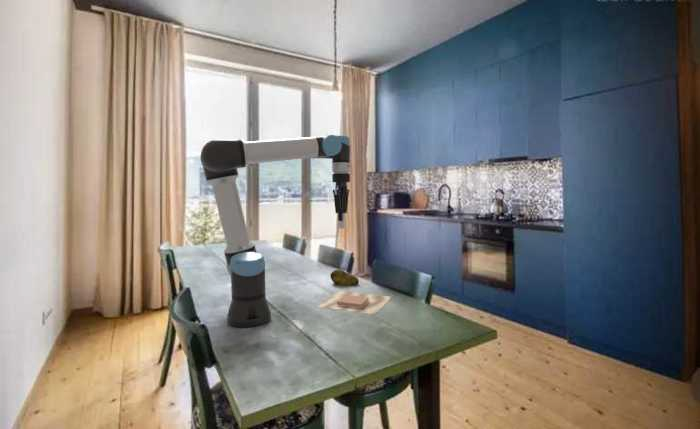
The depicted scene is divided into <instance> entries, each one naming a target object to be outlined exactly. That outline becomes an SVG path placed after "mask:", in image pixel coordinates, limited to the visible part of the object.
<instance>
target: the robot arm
mask: <svg viewBox="0 0 700 429" xmlns="http://www.w3.org/2000/svg"><path fill="white" fill-rule="evenodd" d="M350 157H351V142H350V137H349V136H347V135H336V134H327V135H325V136H323V135H322V136H309V137H296V138H295V137H294V138H281V139H268V140H255V141H245V140H244V139H242V138H239V139H221V138H220V139H219V138H218V139H217V138H216V139H213V140H209V141H208V142H206V143H205V144H204V146H202V149H201V152H200V163H201V165H202V168H203V171H204V177H205V180H206V182H207V183H209V185H211V186H212V190H213V196H214V199H215V202H216V207H217V210H218V211H217V212H218V215H219V218H220V220H219V221H220V224H221V227H222V228H221V229H222V232H223V235H224V236H223V237H224V240H225V245H226V248H225V249H224V251H223V254H224V258H225V262H226V268H227V272H228V274H229V275H230V285H231V286H230V288H231V291H230V292H231V302H230V305H229V307H228V308H229V309H228V312H227V315H226V319H227V320H226V323H227V324H228V325H229V326H230V327H235V328H253V327H257V326H258V327H259V326H261V325H265V324H266V323H268V322H269V321H270V320H271V319H272V310H271V309H270V306H269V303H268V300H267V298H266V260H265V257H264V255H263V254H262V253H260V252H257V249H256V245H255V243H253V242H251V241H250V236H249V232H248V228H247V224H246V220H245V216H244V211H243V207H242V202H241V198H240V194H239V190H238V186H237V178H238V177H239V172H238V169H241V168H246V167H247V166H248V165H251V164H262V163H273V162H281V161H291V160H302V159H328V160H329V159H331V164H332V165H331V170H332V171H331V172H332V178H331V179H332V183H335V185H334V186H335V187H334V188H335V189H332V194H333V200H334V210H335V211H334V212H335V214H337V229H339V230H340V229H346V214H347V213H348V204H349V195H350V189H348V185H347V183H350V182H351V174H350V172H351V167H352V165H351V163H350V162H351V158H350Z"/></svg>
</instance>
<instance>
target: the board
mask: <svg viewBox="0 0 700 429" xmlns="http://www.w3.org/2000/svg"><path fill="white" fill-rule="evenodd" d="M345 295H352V296H361V297H369V302H368V303H366V304H365V305H364V306H363V307H362V308H353V307H345V306H338V305H337V301H338V300H339V299H341V298H342V297H343V296H345ZM391 298H392V296H389V295H380V294H372V293H371V294H369V293H363V292H362V293H361V292H354V291H344V290H337V291H336V292H335V293H333V294H332V295H330V296H329V297H327V298H326V299H325V300H324V301H322V302H320V303H319V304H317V305H316V306H315V307H316V308H323V309H331V310H340V311H346V312H353V313H354V312H355V313H361V314H367V315H368V314H369V315H377V314H378V313H379V312H380V311H381V309H382V308H383V307H384V306H385V305H386V304H387V303H388V302H389V300H390V299H391Z"/></svg>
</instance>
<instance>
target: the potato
mask: <svg viewBox="0 0 700 429" xmlns="http://www.w3.org/2000/svg"><path fill="white" fill-rule="evenodd" d="M329 278H330V279H331V281H332V282H333V283H334V284H335V285H339V286H343V287H349V286H350V287H352V286H358V285H359V283H360V282H359V279H358V277H356V276H354V275H352V274H350V273H348V272H346V271H344V270H343V269H334V270H333V271H331V273H330V277H329Z"/></svg>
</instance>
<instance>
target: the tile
mask: <svg viewBox="0 0 700 429" xmlns="http://www.w3.org/2000/svg"><path fill="white" fill-rule="evenodd" d="M368 302H369V297H361V296H352V295H345V296H343V297H342V298H341V299H339V300H338V301H337V305H338V306H345V307H353V308H362V307H363V306H364V305H365V304H366V303H368Z"/></svg>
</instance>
